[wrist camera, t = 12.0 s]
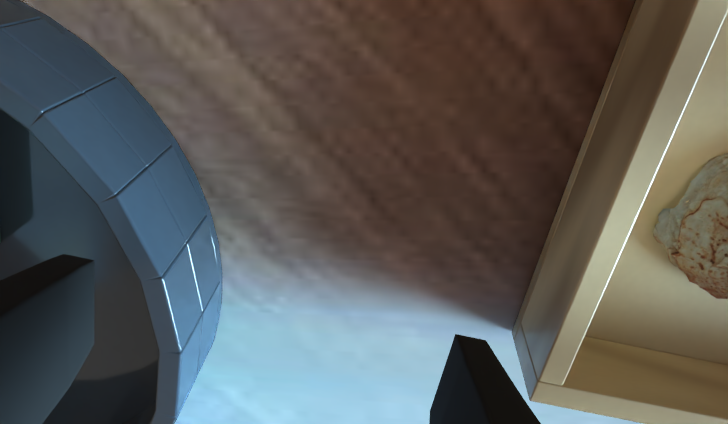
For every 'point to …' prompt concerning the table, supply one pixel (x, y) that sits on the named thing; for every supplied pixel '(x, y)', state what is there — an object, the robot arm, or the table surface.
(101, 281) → the bowl
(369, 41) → the table surface
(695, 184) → the oyster shell
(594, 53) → the table surface
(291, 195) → the table surface
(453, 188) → the table surface
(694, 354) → the holder
